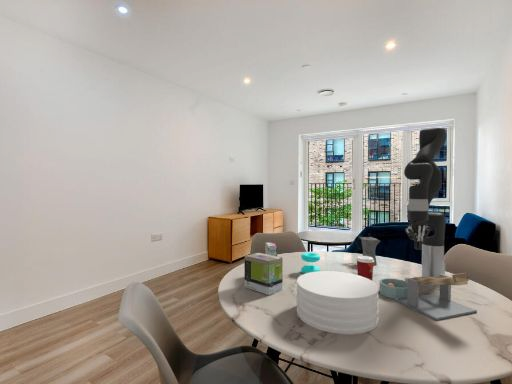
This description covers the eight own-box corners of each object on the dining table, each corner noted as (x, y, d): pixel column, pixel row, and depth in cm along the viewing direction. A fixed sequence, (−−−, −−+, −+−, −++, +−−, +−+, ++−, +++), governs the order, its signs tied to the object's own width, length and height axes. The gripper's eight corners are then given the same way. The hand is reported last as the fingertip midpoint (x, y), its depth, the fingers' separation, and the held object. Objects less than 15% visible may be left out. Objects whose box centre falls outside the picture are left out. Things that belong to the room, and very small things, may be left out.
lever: (389, 284, 118) (387, 275, 119) (417, 280, 123) (415, 271, 124) (457, 286, 91) (454, 274, 92) (490, 281, 96) (486, 270, 97)
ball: (396, 290, 120) (391, 289, 123) (395, 283, 121) (390, 282, 123) (391, 291, 119) (386, 290, 122) (390, 284, 120) (385, 283, 122)
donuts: (297, 253, 149) (310, 251, 155) (297, 272, 149) (310, 269, 155) (310, 257, 141) (324, 254, 147) (310, 277, 141) (324, 273, 147)
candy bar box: (277, 279, 138) (277, 246, 138) (267, 279, 137) (267, 246, 137) (274, 272, 149) (274, 241, 149) (264, 272, 148) (264, 242, 148)
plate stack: (293, 298, 114) (293, 270, 114) (361, 299, 113) (361, 271, 113) (302, 333, 86) (302, 297, 86) (393, 335, 85) (393, 298, 85)
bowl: (395, 287, 127) (395, 277, 127) (418, 297, 115) (418, 286, 115) (373, 290, 123) (373, 280, 123) (395, 301, 111) (395, 289, 111)
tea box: (283, 289, 123) (283, 256, 123) (268, 296, 116) (268, 261, 116) (258, 282, 134) (258, 251, 133) (243, 287, 126) (243, 255, 126)
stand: (396, 301, 111) (396, 275, 111) (433, 295, 117) (434, 270, 117) (436, 320, 95) (436, 290, 95) (476, 312, 101) (477, 284, 101)
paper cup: (375, 292, 121) (376, 260, 121) (357, 290, 122) (357, 259, 122) (372, 285, 128) (372, 255, 128) (354, 284, 130) (354, 255, 130)
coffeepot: (383, 264, 165) (383, 234, 165) (376, 267, 158) (376, 236, 158) (358, 259, 176) (358, 231, 176) (351, 262, 169) (351, 233, 169)
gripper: (422, 208, 125) (421, 246, 125) (399, 209, 121) (398, 248, 121) (437, 209, 118) (437, 250, 118) (413, 210, 114) (413, 252, 114)
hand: (417, 249), depth 120 cm, fingers closed
